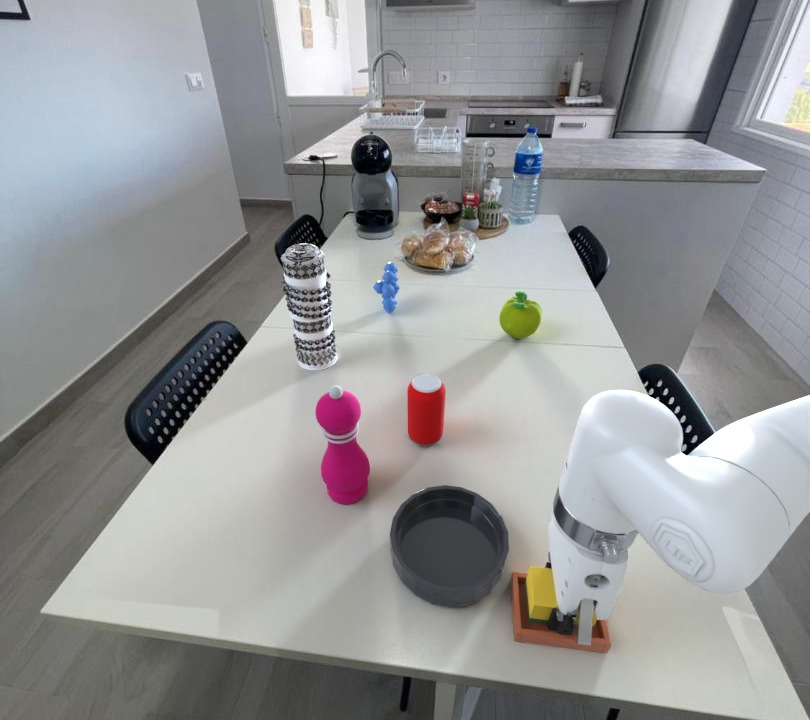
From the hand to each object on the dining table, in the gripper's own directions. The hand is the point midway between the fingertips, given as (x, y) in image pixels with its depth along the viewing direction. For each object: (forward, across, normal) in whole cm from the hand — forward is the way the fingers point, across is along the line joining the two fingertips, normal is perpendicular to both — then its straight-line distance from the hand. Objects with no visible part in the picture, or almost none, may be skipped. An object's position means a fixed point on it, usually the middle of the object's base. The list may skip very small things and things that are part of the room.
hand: (558, 604), depth 52 cm
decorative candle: (+3, +48, +43) cm, 64 cm away
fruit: (+3, +62, 0) cm, 62 cm away
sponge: (0, 0, 0) cm, 0 cm away
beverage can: (+3, +28, +18) cm, 33 cm away
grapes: (+3, +72, +32) cm, 78 cm away
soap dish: (+2, 0, 0) cm, 2 cm away
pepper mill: (+3, +15, +29) cm, 33 cm away
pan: (+2, +6, +13) cm, 15 cm away
